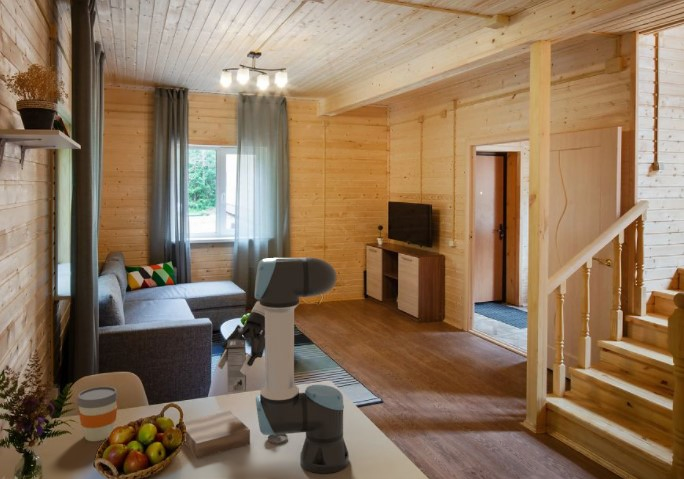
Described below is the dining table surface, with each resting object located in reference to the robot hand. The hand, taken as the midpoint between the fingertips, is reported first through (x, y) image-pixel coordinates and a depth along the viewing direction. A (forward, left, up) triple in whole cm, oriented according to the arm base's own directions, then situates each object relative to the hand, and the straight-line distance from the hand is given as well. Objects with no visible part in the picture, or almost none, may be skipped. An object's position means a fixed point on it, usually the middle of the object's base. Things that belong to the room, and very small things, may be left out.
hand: (230, 370), depth 187 cm
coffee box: (+1, -3, -7) cm, 8 cm away
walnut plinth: (-4, +8, -22) cm, 23 cm away
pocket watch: (-14, -10, -22) cm, 28 cm away
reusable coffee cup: (+21, +40, -22) cm, 50 cm away
